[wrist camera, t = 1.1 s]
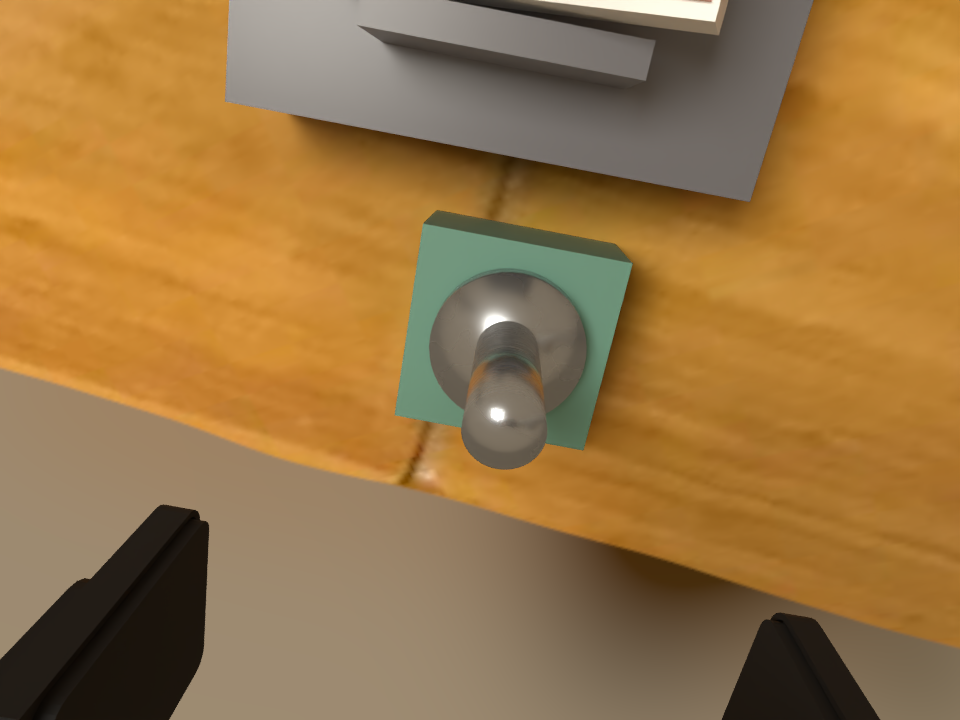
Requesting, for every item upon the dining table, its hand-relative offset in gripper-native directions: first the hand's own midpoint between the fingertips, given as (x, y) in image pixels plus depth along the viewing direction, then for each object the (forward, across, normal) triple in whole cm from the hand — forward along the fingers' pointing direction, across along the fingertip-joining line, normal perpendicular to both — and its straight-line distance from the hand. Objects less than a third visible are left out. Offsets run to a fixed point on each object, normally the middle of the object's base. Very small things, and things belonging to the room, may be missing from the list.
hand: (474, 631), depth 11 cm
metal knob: (+20, -1, 0) cm, 20 cm away
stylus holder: (+20, -1, 0) cm, 20 cm away
